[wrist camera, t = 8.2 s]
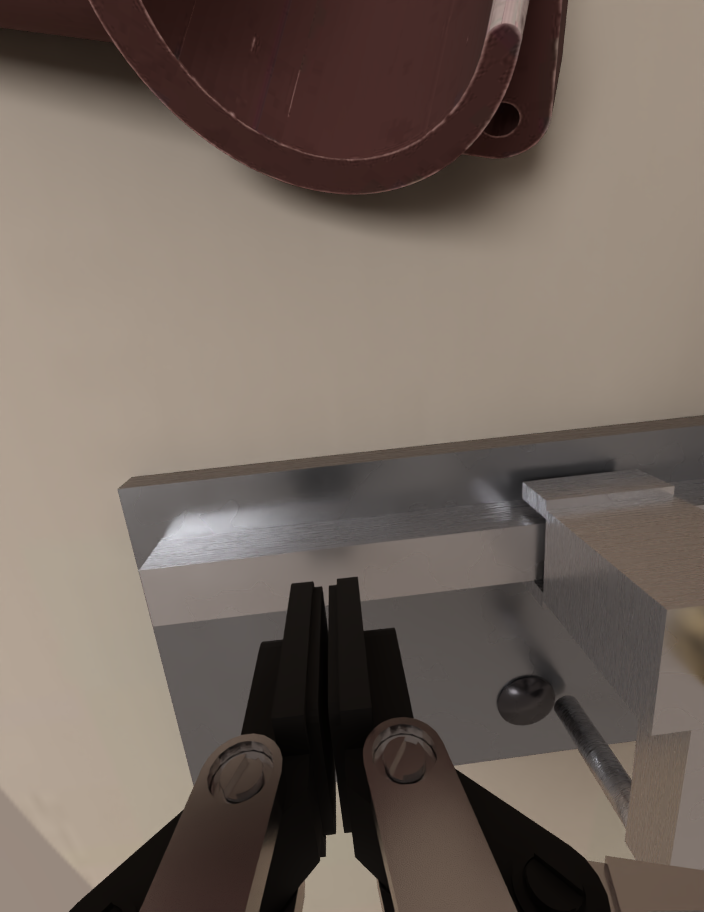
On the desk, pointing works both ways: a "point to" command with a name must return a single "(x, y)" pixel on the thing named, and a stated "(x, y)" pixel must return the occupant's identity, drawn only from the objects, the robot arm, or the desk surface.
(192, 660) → the bolt plate and beam
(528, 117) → the bracket
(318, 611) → the robot arm
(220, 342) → the desk surface
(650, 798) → the sliding leg
